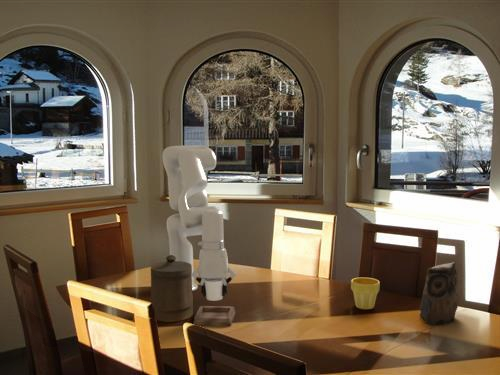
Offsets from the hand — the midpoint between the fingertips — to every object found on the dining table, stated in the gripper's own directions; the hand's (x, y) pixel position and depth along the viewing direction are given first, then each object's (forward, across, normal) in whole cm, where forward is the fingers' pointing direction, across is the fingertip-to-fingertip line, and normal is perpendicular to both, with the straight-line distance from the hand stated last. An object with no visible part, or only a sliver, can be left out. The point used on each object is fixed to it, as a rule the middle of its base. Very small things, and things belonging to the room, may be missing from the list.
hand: (214, 295), depth 195 cm
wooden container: (+9, -16, +4) cm, 19 cm away
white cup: (+1, 0, 0) cm, 1 cm away
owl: (+9, +77, +4) cm, 78 cm away
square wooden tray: (+9, 0, 0) cm, 9 cm away
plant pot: (+9, +54, +16) cm, 57 cm away
